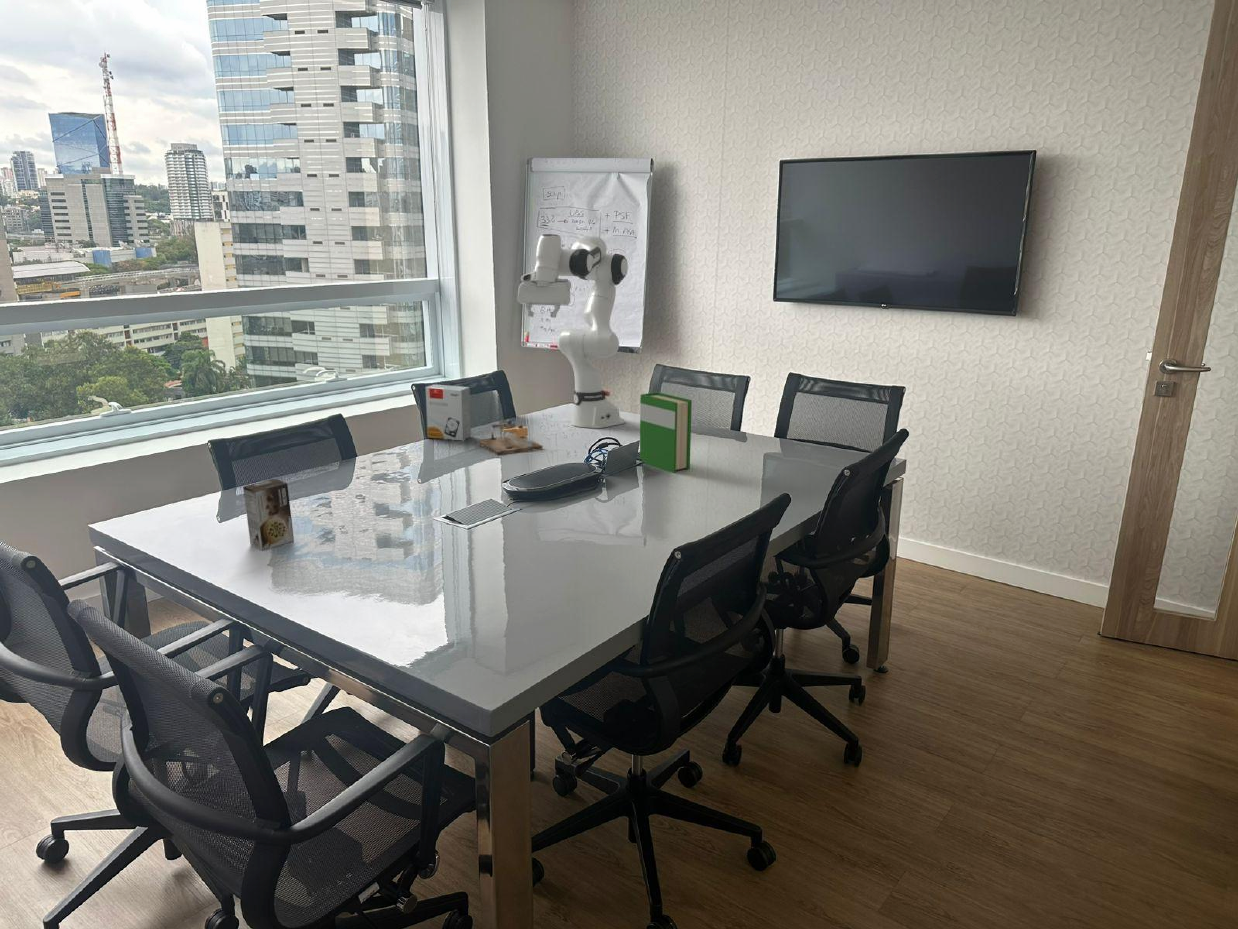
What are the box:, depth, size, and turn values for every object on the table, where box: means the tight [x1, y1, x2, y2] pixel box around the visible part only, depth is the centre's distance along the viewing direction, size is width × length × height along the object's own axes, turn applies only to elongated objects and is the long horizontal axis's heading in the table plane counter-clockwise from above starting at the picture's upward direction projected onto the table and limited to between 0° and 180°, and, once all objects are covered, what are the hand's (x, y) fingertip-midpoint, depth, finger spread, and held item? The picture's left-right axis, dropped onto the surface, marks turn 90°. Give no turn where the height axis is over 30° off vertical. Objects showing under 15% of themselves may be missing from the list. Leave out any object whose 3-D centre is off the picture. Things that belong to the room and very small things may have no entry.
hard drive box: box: [424, 383, 472, 442], centre depth 333 cm, size 16×8×20 cm, turn 73°
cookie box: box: [243, 478, 295, 552], centre depth 223 cm, size 9×6×16 cm
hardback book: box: [639, 391, 693, 474], centre depth 295 cm, size 18×7×24 cm, turn 39°
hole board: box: [475, 435, 543, 456], centre depth 323 cm, size 18×20×1 cm
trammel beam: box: [490, 419, 533, 447], centre depth 323 cm, size 9×19×6 cm, turn 30°
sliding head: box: [501, 424, 529, 443], centre depth 321 cm, size 9×4×6 cm, turn 120°
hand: (541, 316), depth 310 cm, fingers open, 8 cm apart
